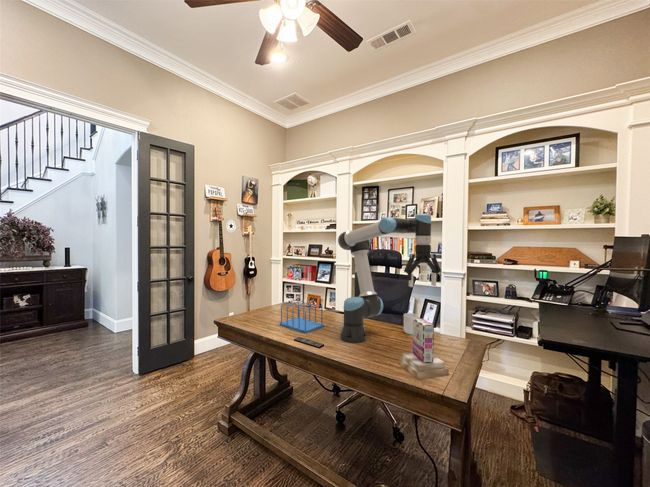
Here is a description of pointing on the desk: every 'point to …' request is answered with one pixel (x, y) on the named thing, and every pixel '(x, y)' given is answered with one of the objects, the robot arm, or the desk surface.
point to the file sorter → (301, 319)
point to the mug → (409, 322)
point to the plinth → (423, 374)
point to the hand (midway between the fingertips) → (422, 286)
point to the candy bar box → (423, 340)
